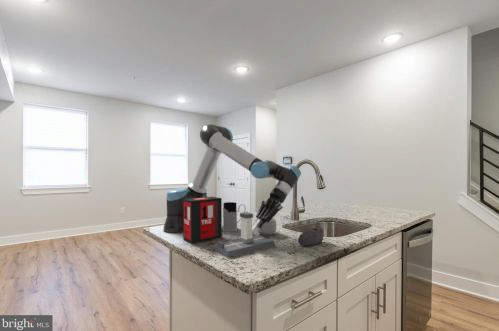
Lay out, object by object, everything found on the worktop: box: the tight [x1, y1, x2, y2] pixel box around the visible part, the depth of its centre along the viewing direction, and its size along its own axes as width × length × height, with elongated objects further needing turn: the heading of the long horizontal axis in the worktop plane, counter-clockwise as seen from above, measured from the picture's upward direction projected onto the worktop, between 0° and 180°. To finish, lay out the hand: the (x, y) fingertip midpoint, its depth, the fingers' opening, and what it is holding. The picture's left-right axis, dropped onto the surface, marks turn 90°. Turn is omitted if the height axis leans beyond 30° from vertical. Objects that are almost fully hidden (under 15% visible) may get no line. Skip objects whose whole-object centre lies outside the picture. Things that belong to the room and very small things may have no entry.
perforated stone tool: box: [297, 227, 324, 247], centre depth 112 cm, size 15×5×7 cm, turn 119°
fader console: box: [213, 232, 276, 258], centre depth 108 cm, size 12×24×4 cm, turn 125°
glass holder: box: [222, 201, 246, 232], centre depth 143 cm, size 9×14×15 cm, turn 117°
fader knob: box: [239, 211, 254, 243], centre depth 108 cm, size 5×4×12 cm
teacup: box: [255, 217, 277, 236], centre depth 132 cm, size 14×11×8 cm
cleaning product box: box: [182, 196, 223, 245], centre depth 122 cm, size 16×9×20 cm, turn 129°
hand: (252, 232), depth 109 cm, fingers closed
